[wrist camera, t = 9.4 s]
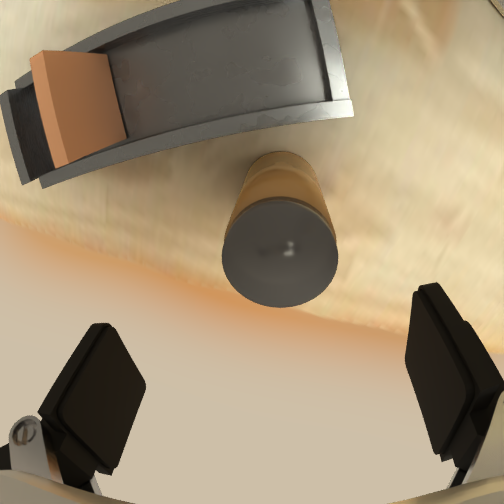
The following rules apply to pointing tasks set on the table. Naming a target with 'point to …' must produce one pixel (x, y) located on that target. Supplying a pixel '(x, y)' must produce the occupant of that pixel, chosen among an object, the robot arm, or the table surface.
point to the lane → (197, 79)
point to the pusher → (76, 103)
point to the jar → (280, 234)
